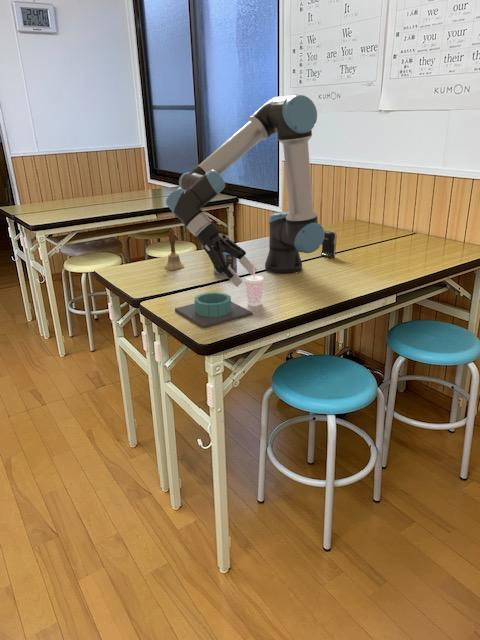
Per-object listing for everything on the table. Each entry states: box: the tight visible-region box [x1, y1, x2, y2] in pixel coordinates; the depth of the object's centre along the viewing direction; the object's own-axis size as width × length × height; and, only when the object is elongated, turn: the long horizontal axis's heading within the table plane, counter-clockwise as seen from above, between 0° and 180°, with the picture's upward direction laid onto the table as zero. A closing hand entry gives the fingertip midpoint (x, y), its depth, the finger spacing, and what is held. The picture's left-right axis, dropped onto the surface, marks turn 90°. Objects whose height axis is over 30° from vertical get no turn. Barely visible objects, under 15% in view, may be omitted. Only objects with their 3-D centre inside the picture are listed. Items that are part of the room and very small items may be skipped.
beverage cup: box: [244, 262, 265, 307], centre depth 162 cm, size 6×6×14 cm
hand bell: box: [164, 229, 185, 271], centre depth 204 cm, size 8×8×16 cm
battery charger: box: [320, 230, 337, 258], centre depth 215 cm, size 7×4×11 cm, turn 38°
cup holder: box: [174, 291, 253, 329], centre depth 156 cm, size 18×18×5 cm
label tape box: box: [213, 242, 238, 276], centre depth 195 cm, size 9×4×12 cm, turn 68°
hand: (247, 278), depth 161 cm, fingers open, 13 cm apart
